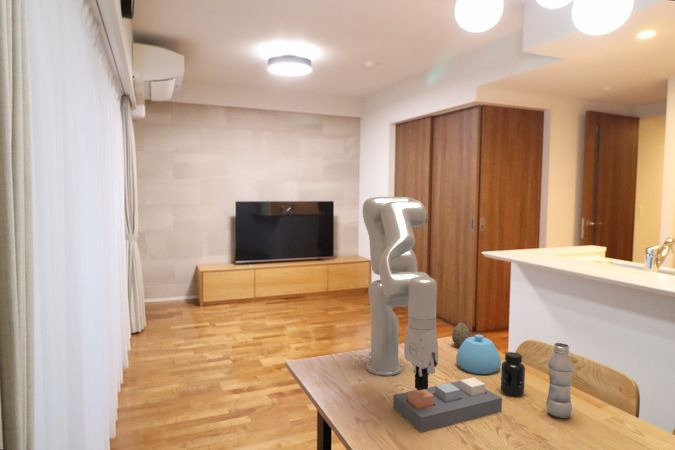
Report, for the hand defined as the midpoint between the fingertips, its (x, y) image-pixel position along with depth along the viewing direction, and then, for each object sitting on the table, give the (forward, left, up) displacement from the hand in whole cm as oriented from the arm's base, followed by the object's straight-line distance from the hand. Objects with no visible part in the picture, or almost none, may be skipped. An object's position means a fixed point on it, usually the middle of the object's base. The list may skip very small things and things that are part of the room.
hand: (421, 388), depth 124 cm
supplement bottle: (-1, +35, -8) cm, 36 cm away
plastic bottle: (+15, +36, -8) cm, 39 cm away
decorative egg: (-40, +47, -8) cm, 62 cm away
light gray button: (0, +9, -6) cm, 11 cm away
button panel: (0, +9, -8) cm, 12 cm away
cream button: (0, +18, -6) cm, 19 cm away
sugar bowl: (-21, +39, -9) cm, 45 cm away
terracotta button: (0, 0, -6) cm, 6 cm away
